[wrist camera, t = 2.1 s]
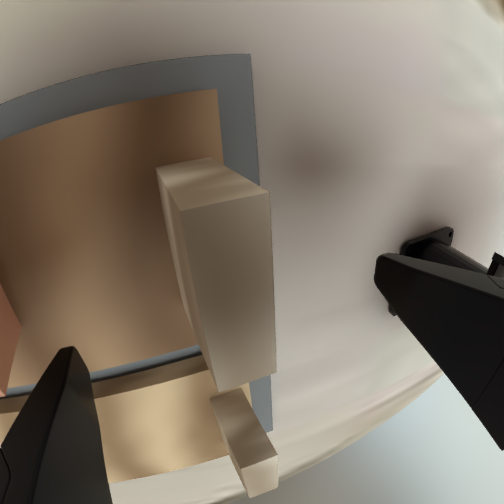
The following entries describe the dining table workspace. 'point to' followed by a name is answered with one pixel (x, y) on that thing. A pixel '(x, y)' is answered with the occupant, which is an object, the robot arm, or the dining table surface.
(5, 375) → the block
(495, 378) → the robot arm
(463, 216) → the dining table surface
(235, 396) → the tan piece
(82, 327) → the darker brown strip
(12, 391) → the lane mat
